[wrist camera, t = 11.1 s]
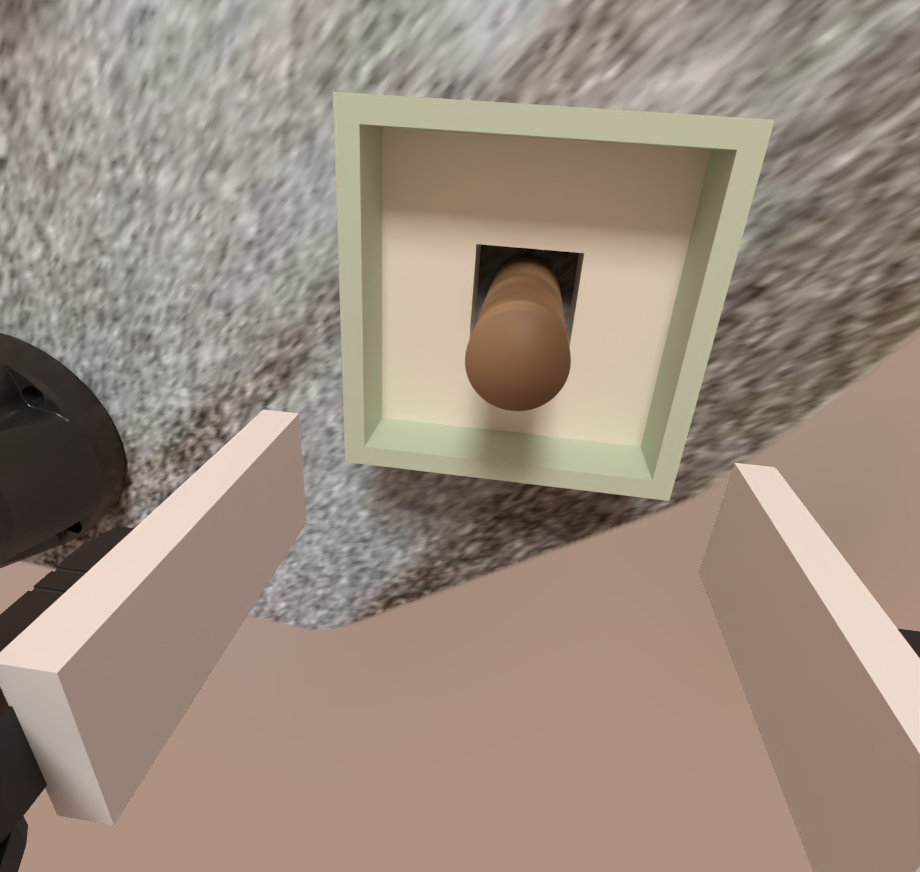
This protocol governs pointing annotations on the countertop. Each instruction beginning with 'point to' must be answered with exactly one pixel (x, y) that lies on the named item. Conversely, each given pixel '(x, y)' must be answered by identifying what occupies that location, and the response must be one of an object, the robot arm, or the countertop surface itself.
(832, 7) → the countertop surface
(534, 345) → the peg
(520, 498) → the countertop surface
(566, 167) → the peg box
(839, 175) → the countertop surface
